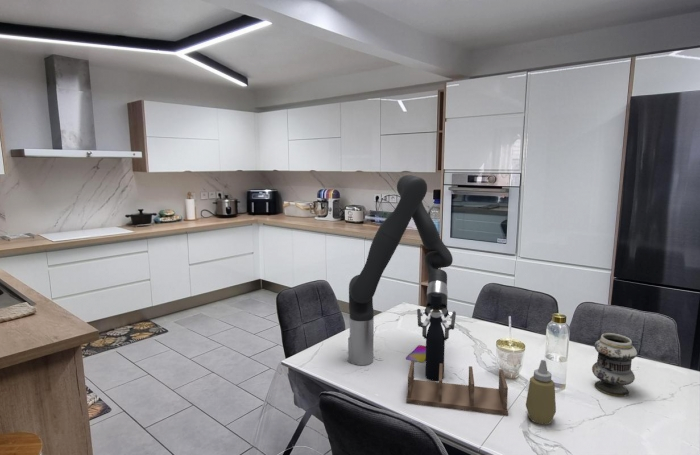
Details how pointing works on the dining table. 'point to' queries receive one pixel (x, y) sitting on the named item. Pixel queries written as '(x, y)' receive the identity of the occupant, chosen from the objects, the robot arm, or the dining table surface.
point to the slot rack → (458, 394)
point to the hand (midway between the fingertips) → (435, 338)
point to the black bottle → (435, 341)
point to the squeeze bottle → (541, 396)
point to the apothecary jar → (614, 364)
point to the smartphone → (418, 354)
